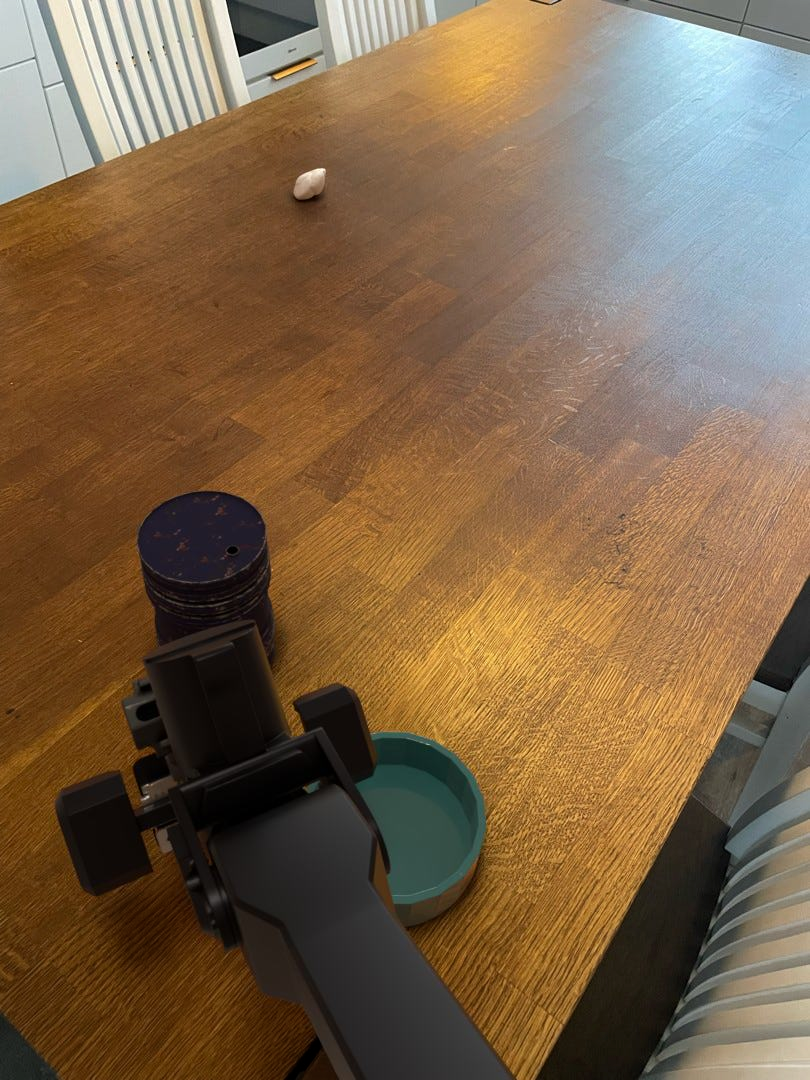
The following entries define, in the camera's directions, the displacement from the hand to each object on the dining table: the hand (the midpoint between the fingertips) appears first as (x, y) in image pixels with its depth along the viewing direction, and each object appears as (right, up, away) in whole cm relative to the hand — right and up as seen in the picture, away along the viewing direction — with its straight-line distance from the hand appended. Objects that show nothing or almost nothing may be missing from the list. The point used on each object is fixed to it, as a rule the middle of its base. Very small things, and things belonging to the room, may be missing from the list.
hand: (203, 755), depth 62 cm
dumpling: (-1, +68, +76) cm, 102 cm away
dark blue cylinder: (-2, +5, +16) cm, 17 cm away
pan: (+13, -8, +5) cm, 16 cm away
